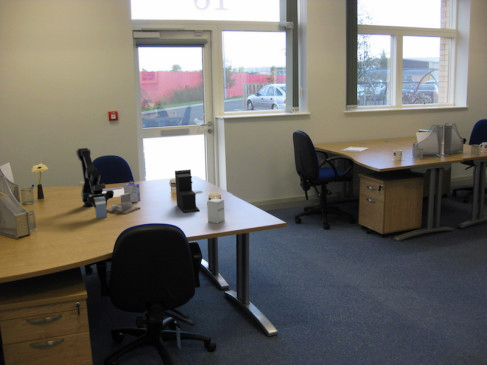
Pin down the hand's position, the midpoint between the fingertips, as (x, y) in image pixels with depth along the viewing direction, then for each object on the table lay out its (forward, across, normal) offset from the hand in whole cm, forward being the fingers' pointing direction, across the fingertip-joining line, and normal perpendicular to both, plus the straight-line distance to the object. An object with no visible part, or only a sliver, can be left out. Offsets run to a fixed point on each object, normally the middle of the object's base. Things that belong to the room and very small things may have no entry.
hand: (101, 207), depth 286 cm
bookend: (+12, +53, -2) cm, 54 cm away
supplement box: (+39, +55, -29) cm, 74 cm away
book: (+4, 0, +6) cm, 7 cm away
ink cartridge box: (-17, +28, +26) cm, 42 cm away
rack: (-3, +16, +12) cm, 20 cm away
